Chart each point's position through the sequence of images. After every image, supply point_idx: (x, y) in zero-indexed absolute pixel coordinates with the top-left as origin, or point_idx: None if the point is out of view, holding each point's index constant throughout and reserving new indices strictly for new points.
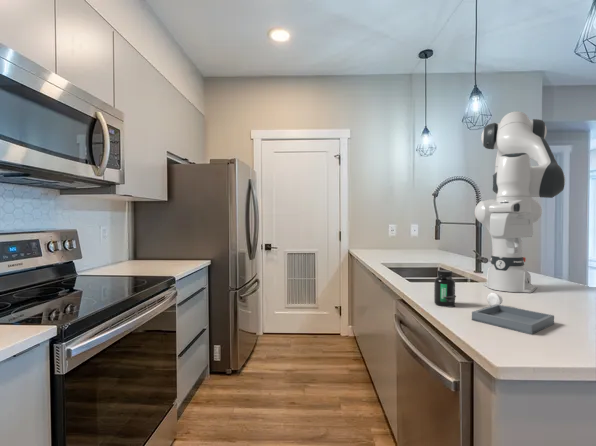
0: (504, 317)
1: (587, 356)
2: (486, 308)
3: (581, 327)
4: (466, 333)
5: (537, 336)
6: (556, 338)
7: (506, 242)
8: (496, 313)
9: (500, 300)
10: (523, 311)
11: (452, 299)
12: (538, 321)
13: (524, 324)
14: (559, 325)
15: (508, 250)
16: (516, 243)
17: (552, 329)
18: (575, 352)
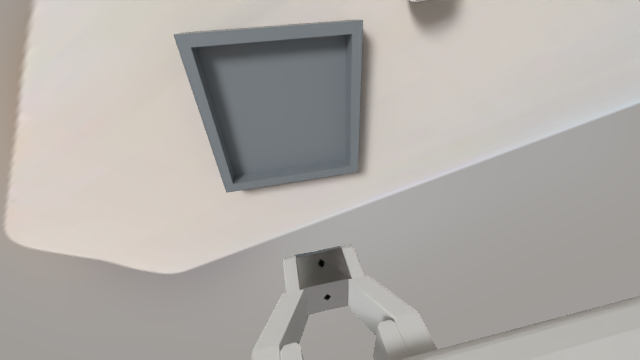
0: (288, 87)
1: (211, 259)
2: (271, 35)
3: (368, 193)
4: (56, 110)
5: None
6: (253, 207)
7: (259, 345)
8: (311, 47)
9: (419, 1)
10: (349, 111)
11: None
12: (272, 183)
13: (222, 179)
14: None
15: (284, 274)
16: (371, 324)
17: None
18: (210, 247)
